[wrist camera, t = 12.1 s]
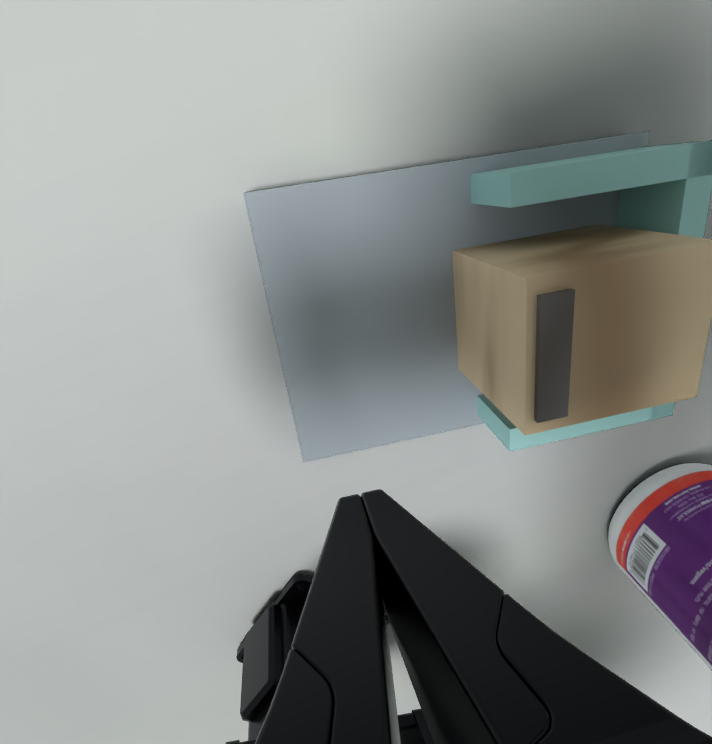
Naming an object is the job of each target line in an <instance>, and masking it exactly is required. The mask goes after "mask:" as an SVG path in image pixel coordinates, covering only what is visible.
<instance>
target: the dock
mask: <svg viewBox="0 0 712 744" xmlns="http://www.w3.org/2000/svg"><path fill="white" fill-rule="evenodd" d="M649 133H650V131H648V132H641V133H633V134H626V135H619V136H612V137H606V138H599V139H593V140H586V141H580V142H573V143H566V144H560V145H553V146H547V147H540V148H534V149H527V150H520V151H514V152H507V153H501V154H494V155H488V156H481V157H475V158H468V159H461V160H455V161H448V162H442V163H435V164H429V165H422V166H415V167H409V168H402V169H396V170H389V171H383V172H376V173H369V174H363V175H356V176H350V177H343V178H337V179H330V180H323V181H317V182H310V183H304V184H297V185H291V186H284V187H278V188H271V189H264V190H258V191H251V192H245V193H243V194H244V198H245V202H246V207H247V211H248V216H249V220H250V225H251V229H252V234H253V238H254V243H255V247H256V252H257V256H258V261H259V265H260V270H261V274H262V279H263V283H264V288H265V292H266V296H267V301H268V305H269V310H270V314H271V319H272V323H273V328H274V332H275V337H276V341H277V346H278V350H279V355H280V359H281V364H282V368H283V373H284V377H285V382H286V386H287V390H288V395H289V399H290V404H291V408H292V413H293V417H294V422H295V426H296V431H297V435H298V440H299V444H300V449H301V453H302V458H303V462H308V461H312V460H317V459H322V458H326V457H331V456H335V455H340V454H345V453H349V452H354V451H358V450H363V449H368V448H372V447H377V446H382V445H386V444H391V443H395V442H400V441H405V440H409V439H414V438H418V437H423V436H428V435H432V434H437V433H442V432H446V431H451V430H455V429H460V428H465V427H469V426H474V425H479V424H483V423H485V424H486V425H487V426H488V427H489V429H490V430H491V431H492V432H493V433H494V434H495V435H496V436H497V438H498V439H499V440H500V441H501V442H502V443H503V444H504V446H505V447H506V448H507V449H508V450H509V451H514V450H519V449H523V448H527V447H532V446H536V445H541V444H545V443H550V442H554V441H559V440H563V439H567V438H572V437H576V436H581V435H585V434H590V433H594V432H599V431H603V430H608V429H612V428H616V427H621V426H625V425H630V424H634V423H639V422H643V421H648V420H652V419H656V418H661V417H665V416H670V415H673V410H674V404H675V402H671V403H667V404H662V405H658V406H654V407H649V408H645V409H640V410H636V411H632V412H627V413H623V414H618V415H614V416H610V417H605V418H601V419H596V420H592V421H587V422H583V423H579V424H574V425H570V426H565V427H561V428H557V429H552V430H548V431H543V432H539V433H535V434H530V435H526V436H525V435H524V434H523V433H522V432H521V431H520V430H519V429H518V428H517V427H516V426H515V425H514V424H513V423H512V422H511V421H510V420H509V419H508V418H507V417H506V416H505V415H504V414H503V413H502V412H501V411H500V410H499V409H498V408H497V407H496V406H495V405H494V404H493V403H492V402H491V401H490V400H489V399H488V398H487V397H486V396H485V395H484V394H483V393H482V392H481V391H480V390H479V389H478V388H477V387H476V386H475V385H474V384H473V383H472V382H471V381H470V380H469V379H468V378H467V377H466V376H465V375H464V374H463V373H462V372H461V371H460V370H459V366H458V348H457V329H456V310H455V292H454V273H453V255H452V250H457V249H463V248H468V247H474V246H479V245H485V244H491V243H496V242H502V241H507V240H513V239H518V238H524V237H529V236H535V235H541V234H546V233H552V232H557V231H563V230H568V229H574V228H579V227H585V226H591V225H596V224H600V225H608V226H615V227H623V228H631V229H638V230H646V231H654V232H661V233H669V234H676V235H684V236H692V237H699V238H704V232H705V226H706V220H707V215H708V209H709V203H710V197H711V192H712V140H710V141H699V142H689V143H678V144H667V145H656V146H648V142H649Z"/></svg>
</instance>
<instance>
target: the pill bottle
mask: <svg viewBox="0 0 712 744" xmlns="http://www.w3.org/2000/svg"><path fill="white" fill-rule="evenodd" d="M608 541H609V549H610V552H611V555H612V557H613V559H614V561H615V563H616V564H617V565H618V567H619V568H620V569H621V570H622V571H623V573H624V574H625V575H626V576H627V577H628V578H629V580H630V581H631V582H632V583H633V584H634V585H635V586H636V587H637V588H638V589H639V590H640V592H641V593H642V594H643V595H644V596H645V597H646V598H647V599H648V600H649V601H650V602H651V604H652V605H653V606H654V607H655V608H656V609H657V610H658V611H659V612H660V613H661V615H662V616H663V617H664V618H665V619H666V620H667V621H668V622H669V623H670V625H671V626H672V627H673V628H674V629H675V630H676V631H677V632H678V633H679V634H680V636H681V637H682V638H683V639H684V640H685V641H686V642H687V643H688V644H689V646H690V647H691V648H692V649H693V650H694V651H695V652H696V653H697V654H698V656H699V657H700V658H701V659H702V660H703V661H704V662H705V663H706V664H707V666H708V667H709V668H710V669H711V670H712V465H708V464H701V463H686V464H679V465H675V466H672V467H669V468H666V469H664V470H661V471H659V472H657V473H655V474H653V475H652V476H650V477H649V478H647V479H646V480H644V481H643V482H641V483H640V484H639V485H638V486H637V487H635V488H634V489H633V490H632V491H631V492H630V493H629V494H628V495H627V496H626V497H625V498H624V500H623V501H622V502H621V504H620V505H619V507H618V508H617V510H616V512H615V514H614V516H613V518H612V520H611V523H610V526H609V534H608Z"/></svg>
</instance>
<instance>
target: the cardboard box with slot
mask: <svg viewBox="0 0 712 744" xmlns="http://www.w3.org/2000/svg"><path fill="white" fill-rule="evenodd" d="M452 255H453V273H454V292H455V310H456V329H457V348H458V366H459V370H460V371H461V372H462V373H463V374H464V375H465V376H466V377H467V378H468V379H469V380H470V381H471V382H472V383H473V384H474V385H475V386H476V387H477V388H478V389H479V390H480V391H481V392H482V393H483V394H484V395H485V396H486V397H487V398H488V399H489V400H490V401H491V402H492V403H493V404H494V405H495V406H496V407H497V408H498V409H499V410H500V411H501V412H502V413H503V414H504V415H505V416H506V417H507V418H508V419H509V420H510V421H511V422H512V423H513V424H514V425H515V426H516V427H517V428H518V429H519V430H520V431H521V432H522V433H523V434H524V435H525V436H526V435H530V434H535V433H539V432H543V431H548V430H552V429H557V428H561V427H565V426H570V425H574V424H579V423H583V422H587V421H592V420H596V419H601V418H605V417H610V416H614V415H618V414H623V413H627V412H632V411H636V410H640V409H645V408H649V407H654V406H658V405H662V404H667V403H671V402H676V401H680V400H684V399H689V398H693V397H697V392H698V386H699V381H700V376H701V371H702V365H703V360H704V355H705V349H706V344H707V339H708V334H709V328H710V323H711V318H712V239H707V238H699V237H692V236H684V235H676V234H669V233H661V232H654V231H646V230H638V229H631V228H623V227H615V226H608V225H600V224H596V225H591V226H585V227H579V228H574V229H568V230H563V231H557V232H552V233H546V234H541V235H535V236H529V237H524V238H518V239H513V240H507V241H502V242H496V243H491V244H485V245H479V246H474V247H468V248H463V249H457V250H452Z"/></svg>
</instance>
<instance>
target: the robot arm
mask: <svg viewBox="0 0 712 744" xmlns="http://www.w3.org/2000/svg"><path fill="white" fill-rule="evenodd" d="M298 584H302V585H298ZM383 603H384V604H383ZM389 623H390V625H391V628H392V631H393V633H394V636H395V639H396V641H397V644H398V647H399V650H400V652H401V655H402V658H403V660H404V663H405V666H406V668H407V671H408V674H409V676H410V679H411V682H412V685H413V687H414V690H415V693H416V695H417V698H418V701H419V703H420V706H421V709H416V710H412V713H408V714H402V715H397V708H396V699H395V691H394V682H393V674H392V666H391V657H390V649H389V640H388V632H387V625H388V624H389ZM237 660H238V661H239V662H241V663H243V673H242V691H241V708H240V714H241V717H242V720H244V721H248V722H249V732H248V741H245V742H239V740H236V741H230V742H226V744H712V737H711V736H709V735H707V734H706V733H704V732H702V731H700V730H699V729H697V728H695V727H693V726H692V725H690V724H689V723H687V722H686V721H684V720H682V719H681V718H679V717H678V716H676V715H675V714H673V713H672V712H670V711H669V710H667V709H666V708H665V707H663V706H662V705H660V704H659V703H657V702H656V701H654V700H653V699H651V698H650V697H648V696H647V695H645V694H644V693H642V692H641V691H639V690H638V689H636V688H635V687H633V686H632V685H631V684H629V683H628V682H626V681H625V680H623V679H622V678H620V677H619V676H617V675H616V674H614V673H613V672H611V671H610V670H608V669H607V668H605V667H604V666H602V665H601V664H600V663H598V662H597V661H595V660H594V659H592V658H591V657H589V656H588V655H586V654H585V653H583V652H582V651H581V650H579V649H578V648H576V647H575V646H574V645H572V644H571V643H569V642H568V641H567V640H565V639H564V638H562V637H561V636H560V635H558V634H557V633H555V632H554V631H553V630H551V629H550V628H549V627H547V626H546V625H545V624H544V623H542V622H541V621H540V620H539V619H537V618H536V617H535V616H533V615H532V614H531V613H530V612H528V611H527V610H526V609H525V608H523V607H522V606H521V605H520V604H519V603H517V602H516V601H515V600H514V599H513V598H511V597H510V596H509V595H508V594H505V595H504V591H503V590H502V589H500V588H499V587H498V586H497V585H496V584H494V583H493V582H492V581H491V580H490V579H488V578H487V577H486V576H485V575H484V574H482V573H481V572H480V571H479V570H477V569H476V568H475V567H474V566H473V565H471V564H470V563H469V562H468V561H467V560H465V559H464V558H463V557H462V556H461V555H459V554H458V553H457V552H456V551H455V550H453V549H452V548H451V547H450V546H449V545H447V544H446V543H445V542H444V541H443V540H441V539H440V538H439V537H438V536H437V535H435V534H434V533H433V532H432V531H431V530H429V529H428V528H427V527H426V526H425V525H423V524H422V523H421V522H420V521H419V520H417V519H416V518H415V517H414V516H413V515H411V514H410V513H409V512H408V511H407V510H405V509H404V508H403V507H402V506H400V505H399V504H398V503H397V502H396V501H394V500H393V499H392V498H391V497H390V496H388V495H387V494H386V493H385V492H384V491H382V490H374V491H369V492H365V493H362V494H361V497H360V496H359V495H358V494H356V495H351V496H347V497H342V498H340V499H339V501H338V503H337V506H336V509H335V512H334V515H333V519H332V522H331V525H330V528H329V531H328V534H327V537H326V540H325V543H324V546H323V549H322V553H321V556H320V559H319V562H318V565H317V568H316V571H315V574H314V577H310V576H308V575H304V574H298V575H296V576H294V577H293V578H292V579H291V580H290V582H289V583H288V584H287V586H286V587H285V588H284V589H283V591H282V592H281V593H280V595H279V596H278V597H277V598H276V600H275V601H274V602H273V604H271V605H270V606H268V607H267V608H266V610H265V611H264V612H263V613H262V615H261V616H260V617H259V619H258V620H257V621H256V623H255V624H254V625H253V626H252V628H251V629H250V630H249V632H248V633H247V634H246V635H245V639H244V641H243V642H242V644H241V645H240V646H239V647H238V650H237Z"/></svg>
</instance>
